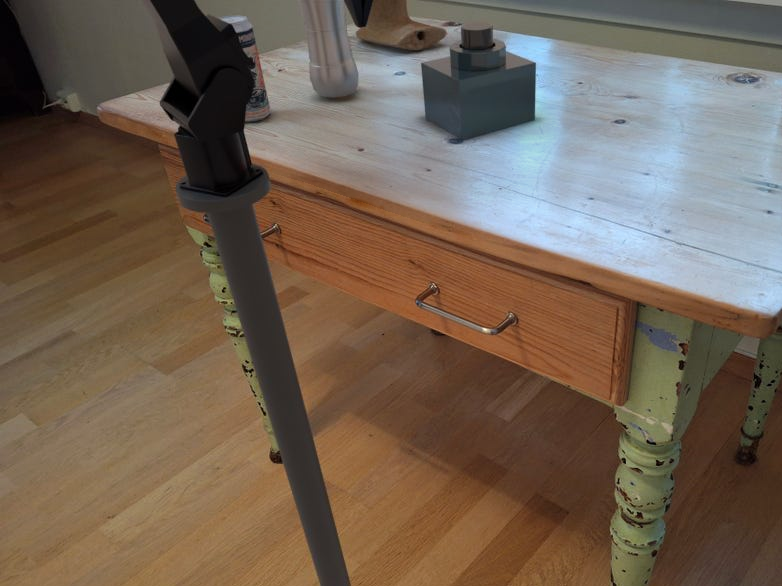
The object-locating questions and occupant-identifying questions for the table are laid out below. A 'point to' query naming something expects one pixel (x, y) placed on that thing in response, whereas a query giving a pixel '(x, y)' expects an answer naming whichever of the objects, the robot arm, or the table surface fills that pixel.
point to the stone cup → (398, 27)
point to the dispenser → (479, 90)
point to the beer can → (251, 68)
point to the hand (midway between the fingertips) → (360, 26)
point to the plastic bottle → (329, 48)
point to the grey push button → (477, 36)
